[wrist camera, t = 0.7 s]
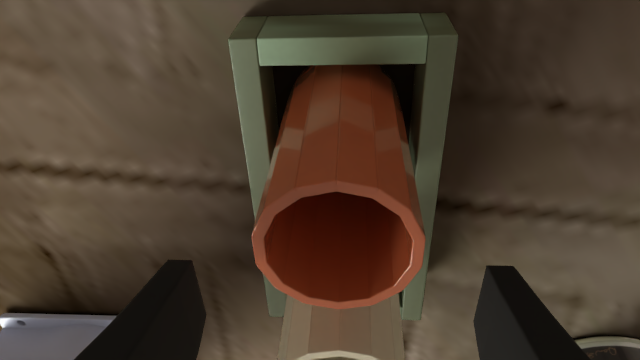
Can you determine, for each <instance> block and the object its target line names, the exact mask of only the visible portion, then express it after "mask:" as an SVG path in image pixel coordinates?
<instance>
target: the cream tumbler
mask: <svg viewBox="0 0 640 360" xmlns="http://www.w3.org/2000/svg"><path fill="white" fill-rule="evenodd" d="M277 360H405V353H404V343H403V333H402V323H401V313H400V303H399V294H398V293H397V294H395V295H393V296H391V297H389V298H387V299H385V300H383V301H381V302H379V303H377V304H375V305H372V306H364V307H356V308H349V309H341V310H340V309H338V310H337V309H332V308H326V307H320V306H314V305H309V304H305V303H302V302H300V301H298V300H296V299H294V298H293V297H291V296H289V295H287V298H286V305H285V312H284V318H283V325H282V331H281V338H280V345H279V351H278V358H277Z"/></svg>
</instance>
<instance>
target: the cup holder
mask: <svg viewBox="0 0 640 360" xmlns="http://www.w3.org/2000/svg"><path fill="white" fill-rule="evenodd" d="M228 43H229V50H230V57H231V64H232V70H233V77H234V84H235V90H236V97H237V104H238V110H239V117H240V124H241V130H242V137H243V144H244V150H245V157H246V164H247V171H248V177H249V184H250V191H251V197H252V204H253V211H254V217H255V219H256V216H257V212H258V208H259V205H260V201H261V197H262V193H263V190H264V186H265V182H266V178H267V175H268V171H269V167H270V163H271V160H272V156H273V152H274V148H275V145H276V141H277V137H278V134H279V126H278V116H277V106H276V95H275V85H274V75H273V66H288V65H367V64H415V73H414V85H413V97H412V109H411V121H410V133H409V145H408V146H409V151H410V156H411V162H412V167H413V172H414V178H415V183H416V189H417V194H418V199H419V205H420V210H421V216H422V221H423V226H424V232H425V237H426V241H425V250H424V258H423V266H422V268H421V269H420V270H419V272H418V273H417V274H416V275H415V277H414V278H413V279H412V280H411V281H410V283H409V284H408V285H407V286H406V288H405V289H404V290H402V291H401V292H399V293H398V294H399V303H400V313H401V319H402V320H421V314H422V306H423V299H424V291H425V284H426V276H427V269H428V261H429V254H430V246H431V239H432V231H433V224H434V216H435V209H436V201H437V194H438V186H439V179H440V171H441V164H442V156H443V149H444V141H445V134H446V126H447V119H448V111H449V104H450V96H451V89H452V81H453V74H454V66H455V59H456V51H457V44H458V34H457V32H456V31H455V29H454V27H453V25H452V24H451V22H450V20H449V18H448V16H447V15H446V13H421V14H420V15H419V13H400V14H350V15H301V16H268V17H267V16H253V17H243V18H242V19H241V21H240V22H239V24H238V25H237V27H236V28H235V30H234V31H233V33H232V34H231V36H230V37H229V39H228ZM263 278H264V284H265V291H266V298H267V304H268V311H269V316H270V317H284V312H285V305H286V298H287V294H285V293H283V292H281V291H280V290H278V289H276V288H275V287H274V286H273V285H272V284H271V283H270V281H269V280H268V279H267V278H266V276H265V275H264V274H263Z"/></svg>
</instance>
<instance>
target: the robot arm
mask: <svg viewBox="0 0 640 360" xmlns="http://www.w3.org/2000/svg"><path fill="white" fill-rule="evenodd" d="M205 318H206V311H205V307H204V304H203V300H202V296H201V292H200V288H199V285H198V281H197V277H196V273H195V269H194V266H193V262H192V260H168V261H167V262H166V263H165V264H164V265H163V266H162V267H161V268H160V269H159V270H158V271H157V273H156V274H155V275H154V276H153V277H152V278H151V279H150V280H149V282H148V283H147V284H146V285H145V286H144V287H143V288H142V289H141V290H140V292H139V293H138V294H137V295H136V296H135V297H134V298H133V299H132V300H131V301H130V303H129V304H128V305H127V306H126V307H125V308H124V309H123V310H122V311H121V312H120V313H119V314H118V315H117V316H109V315H70V314H30V313H3V314H2V315H1V316H0V325H1V326H2V328H3V329H2V330H1V332H0V360H196V358H197V355H198V351H199V347H200V342H201V338H202V333H203V328H204V323H205ZM474 327H475V333H476V340H477V346H478V351H479V357H480V360H591V359H590V358H589V357H588V355H587V354H586V353H585V352H584V351H583V350H582V349H581V348H580V347H579V345H578V344H577V343H576V342H575V341H574V340H573V339H572V337H571V336H570V335H569V334H568V333H567V332H566V330H565V329H564V328H563V327H562V326H561V325H560V323H559V322H558V321H557V320H556V319H555V317H554V316H553V315H552V314H551V313H550V311H549V310H548V309H547V308H546V306H545V305H544V304H543V303H542V302H541V300H540V299H539V298H538V297H537V295H536V294H535V293H534V291H533V290H532V289H531V288H530V286H529V285H528V284H527V283H526V281H525V280H524V279H523V277H522V276H521V275H520V274H519V272H518V271H517V270H516V269H515V268H514V267H513V266H486V271H485V275H484V279H483V283H482V288H481V292H480V296H479V300H478V305H477V309H476V313H475V317H474Z"/></svg>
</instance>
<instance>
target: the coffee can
mask: <svg viewBox="0 0 640 360" xmlns="http://www.w3.org/2000/svg"><path fill="white" fill-rule="evenodd" d="M574 341H575V342H576V343H577V344H578V345H579V347H580V348H581V349H582V350H583V351H584V352H585V353H586V354H587V355H588V357H589V358H590V359H591V360H640V340H639V339H635V338H629V337H620V336H597V337H589V338H583V339H576V340H574Z"/></svg>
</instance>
